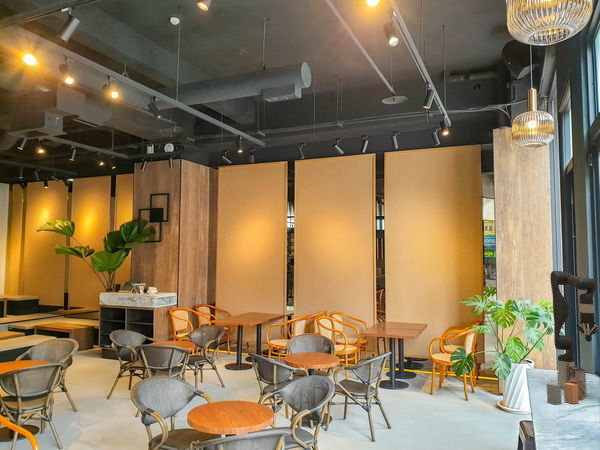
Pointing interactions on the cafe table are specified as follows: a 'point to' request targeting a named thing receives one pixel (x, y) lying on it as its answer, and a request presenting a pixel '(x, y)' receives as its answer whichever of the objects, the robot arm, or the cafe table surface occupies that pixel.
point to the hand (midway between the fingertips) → (588, 341)
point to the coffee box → (578, 377)
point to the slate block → (554, 393)
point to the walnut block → (580, 392)
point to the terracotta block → (571, 393)
